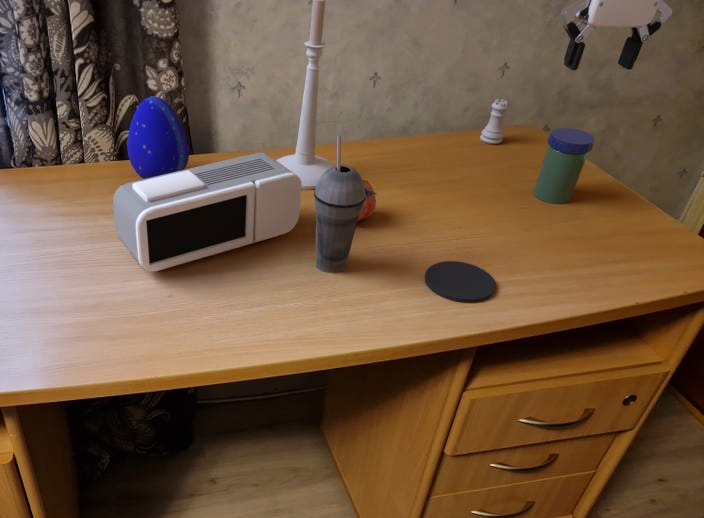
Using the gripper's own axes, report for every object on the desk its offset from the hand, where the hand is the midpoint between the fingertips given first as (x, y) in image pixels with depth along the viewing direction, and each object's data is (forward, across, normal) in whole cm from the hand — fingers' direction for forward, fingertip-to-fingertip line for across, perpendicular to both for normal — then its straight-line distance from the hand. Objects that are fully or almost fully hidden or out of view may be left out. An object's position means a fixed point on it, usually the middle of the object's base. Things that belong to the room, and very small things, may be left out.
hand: (597, 66), depth 106 cm
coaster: (+22, +26, +26) cm, 43 cm away
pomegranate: (+22, +38, +6) cm, 44 cm away
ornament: (+22, +70, -10) cm, 74 cm away
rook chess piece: (+22, +2, -24) cm, 33 cm away
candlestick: (+22, +43, -11) cm, 50 cm away
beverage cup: (+22, +44, +20) cm, 53 cm away
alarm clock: (+22, +62, +13) cm, 67 cm away
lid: (+12, 0, 0) cm, 12 cm away
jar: (+22, 0, 0) cm, 22 cm away
